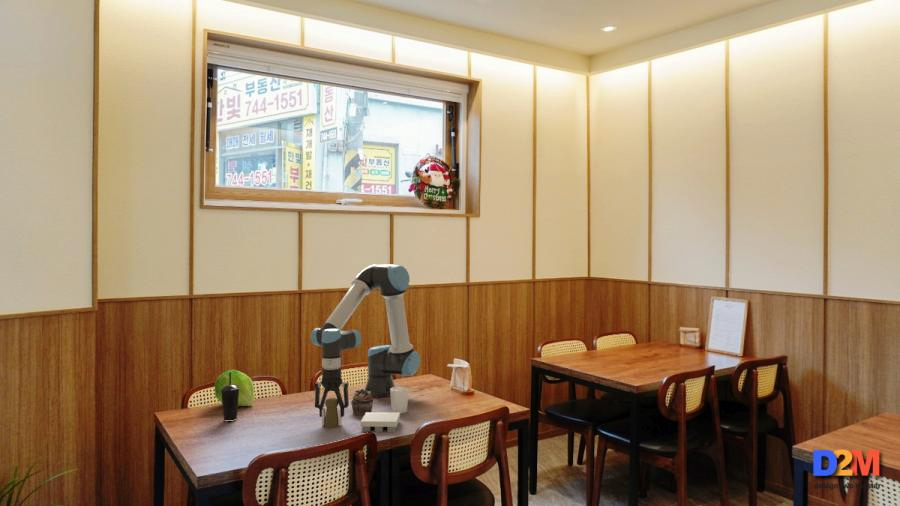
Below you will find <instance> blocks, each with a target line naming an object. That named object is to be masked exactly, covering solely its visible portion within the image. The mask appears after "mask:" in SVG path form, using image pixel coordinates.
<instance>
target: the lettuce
mask: <svg viewBox="0 0 900 506" xmlns="http://www.w3.org/2000/svg"><path fill="white" fill-rule="evenodd" d="M229 372H231V384H232V385H237V386H240V389H239V397H238V407H251V406H252V405H253V404H254V402H255V388H254V383H253V380H252V378H250V377H249V376H248V375H247V374H246V373H244V372H241V371H239V370H236V369H230V370H226V371H224V372H222V373H220V375H219V376H218V377H217V379H216V381H215V382H214V395H215V396H214V397H215V398H216V399H218V401H219V402H220V403H221V404H222V395H221V390H220V388H222V387H224V386H226V385H229Z"/></svg>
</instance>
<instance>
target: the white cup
mask: <svg viewBox="0 0 900 506" xmlns="http://www.w3.org/2000/svg"><path fill="white" fill-rule="evenodd" d="M390 393H391V396H390V406H391V407H390V408H391V412H400V415H401V414H404V413H407V412H408V406H409V405H408V404H409V402H408V401H409V387H406V386H395V387H393V388H391V389H390Z"/></svg>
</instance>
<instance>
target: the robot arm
mask: <svg viewBox="0 0 900 506" xmlns="http://www.w3.org/2000/svg"><path fill="white" fill-rule="evenodd" d="M409 283H410V274H409V271H408V270H407V269H406V268H405V267H404V266H403V265H400V264H394V263H393V264H379V263H378V264H377V263H375V264H374V263H373V264H371V265H369V266H366V267H365V268H363V270H361V271H360V272H359V273H357V275H356V277H355V278H354V279H353V280H352V281H351V286H350V288H349V289H348V290H347V292H346V293H345V295H344V296H343V298H342V299H341V300H340V302H339V303H338V305H337V306H336V307H335V308H334V310H333V311H332V312H331V314H330V315H329V316H328V318H327V319H326V321H325V322H324V324H323V325H322V326H321V327H315V328H313V330H312V331H311V333H310V341H311V343H312V344H313V345H314V346H318V347H321V367H322V370H321V381H317V382H315V383H314V388H315V395H314V408H315V409H316V408H317V409H318V410H319V415H318V416H319V418H321V426H323V427H324V425H325V417H326V407H324V406H325V402H326V400H327V397H328V392H334V394H335V396H336V399H337V400H338V406H339V408H338V409H337V410H338V420H339V426H338V427H341V425H343V424H342V423H343V418H344V417H345V409H346V408H347V409H348V407H349V406H350V402H349V389H348V387H349V384H350V383H349V382H348V381H343V380H342V368H341V367H342V352H343V351H347V350H351V349H352V350H353V349H355V348H357V347H359V346H360V345H361V343H362V334H361V333H360V331H359V330H356V329H349V330H342V329H343V328H344V327H345V325H346V323H347V322H348V321H349V319H350V317H351V316H352V315H353V314H354V312H355V311H356V309H357V308H358V306H359V305H360V304H361V302H362V301H363V300H364V298H365V296H368V295H369V294H370V293H371V292H372V291H374V290H380V296H381V297H383V298H384V302H385V309H386V315H387V322H388V329H389V330H388V331H389V336H390V342H391V344H387V345H377V346H373V347H370V348H368V351H367V381H366V384H365V387H364V391H365V390H366V391H368V390H369V391H370V392H371V396H372V398H384V397H391V393H390V389H391V388H393V387H396V385H395V381H394V379H393V375H399V376H403V377H406V376H408V377H411V376H413V375H414V374H416V373H417V371H418V370H419V367H420V363H421V357H420V354H419V352H417V351H416V350H415V349H414V348H415V347H414V344H412V343H411V342H410V336H409V330H408V329H409V328H408V321H407V314H406V308H405V307H406V306H405V300H404V295H405V294H406V292H407V291H406V290H407V289H408V288H409V285H410V284H409ZM321 386H322V387H323V388H324V390H323V393H322V396H321ZM341 386H342V388H343V397H342V394H341V389H340V387H341ZM320 397H321V401H320Z"/></svg>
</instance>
